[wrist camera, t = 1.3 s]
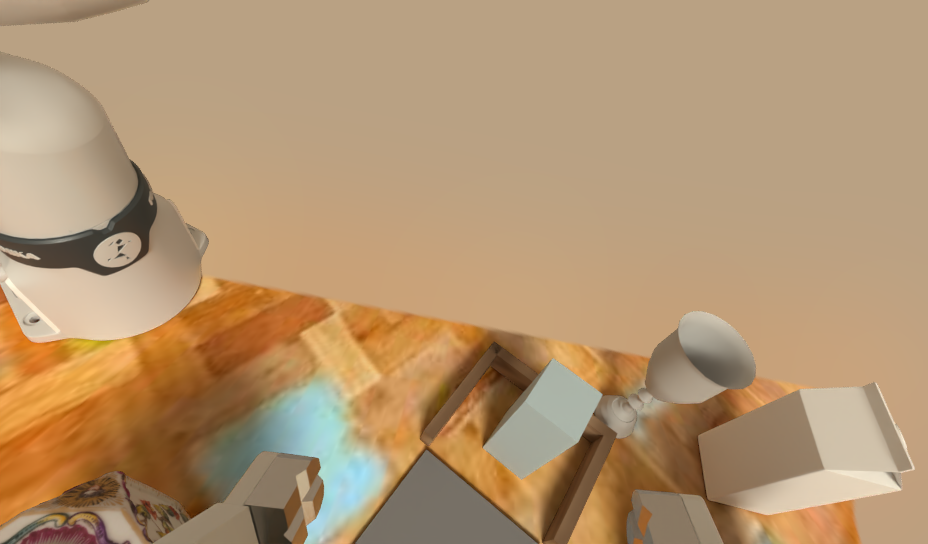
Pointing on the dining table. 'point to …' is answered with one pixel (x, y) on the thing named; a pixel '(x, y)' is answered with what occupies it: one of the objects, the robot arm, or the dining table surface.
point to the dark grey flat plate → (439, 512)
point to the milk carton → (806, 451)
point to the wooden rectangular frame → (593, 432)
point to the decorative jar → (98, 515)
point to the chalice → (685, 370)
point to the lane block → (543, 420)
